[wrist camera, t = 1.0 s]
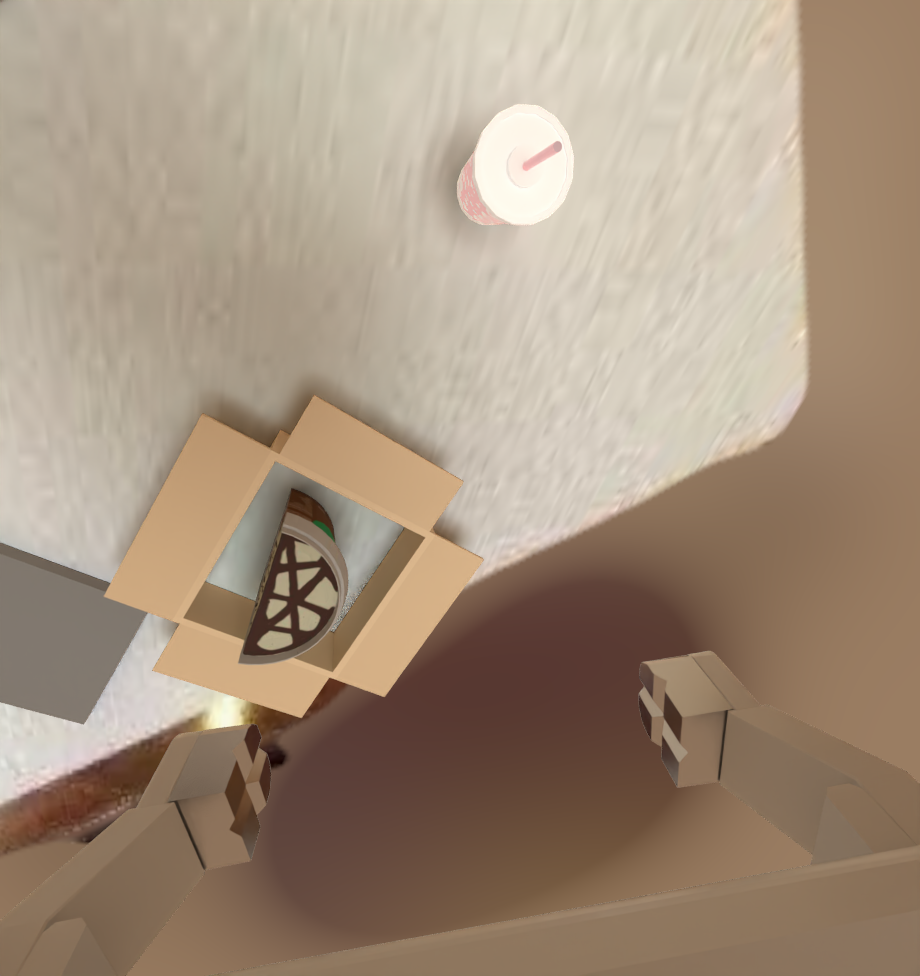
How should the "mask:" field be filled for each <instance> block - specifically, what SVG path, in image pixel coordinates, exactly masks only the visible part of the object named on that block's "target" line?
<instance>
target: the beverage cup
mask: <svg viewBox="0 0 920 976" xmlns="http://www.w3.org/2000/svg"><path fill="white" fill-rule="evenodd" d="M573 165H574V155H573V151H572V147H571V143H570V139H569V136H568V133H567V132H566V131H565V129H564V128H563V126H562V125H561V123H560V122H559V121H558V119H557V118H556V116H554V115H553V114H551V113H549V112H548V111H546V110H544V109H543V108H541V107H539V106H538V105H523V104H516V105H514V106H512V107H510V108H508V109H506V110H503V111H501V112H499V113H498V114H497V115H496V116H495V117H494V118H493V119H492V120H491V122H490V123H489V124H488V125H487V126H486V127H485V129H484V130H483V131H482V133H481V134H480V136H479V139H478V142H477V145H476V148H475V151H474V152H473V154H472V155H471V157H470V158H469V160H468V161H467V163H466V164H465V166H464V167H463V169H462V170H461V173H460V176H459V179H458V182H457V198H458V201H459V204H460V207H461V209H462V211H463V212H464V213H465V214H466V216H467V217H468V218H469V219H470V220H472V221H474V222H476V223H478V224H480V225H496V224H505V223H507V224H509V225H533V224H535V223H537V222H539V221H541V220H543V219H546V218H548V217H550V216H551V215H552V214H553V213H554V211H555V210H556V209H557V208H558V207H559V206H560V205H561V204H562V203H563V202H564V200H565V197H566V195H567V192H568V190H569V187H570V185H571V183H572V180H573Z"/></svg>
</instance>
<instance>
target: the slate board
mask: <svg viewBox="0 0 920 976" xmlns="http://www.w3.org/2000/svg"><path fill="white" fill-rule="evenodd" d="M109 585H110V583H108V582H105V581H102V580H99V579H97V578H94V577H91V576H89V575H86V574H83V573H80V572H78V571H75V570H72V569H70V568H67V567H64V566H61V565H59V564H56V563H53V562H51V561H48V560H45V559H42V558H40V557H37V556H34V555H32V554H29V553H26V552H23V551H21V550H18V549H15V548H13V547H10V546H7V545H4V544H2V543H0V702H1V703H5V704H9V705H13V706H17V707H20V708H24V709H28V710H32V711H35V712H39V713H43V714H47V715H50V716H54V717H58V718H62V719H65V720H69V721H73V722H77V723H80V724H84V723H85V722H86V720H87V718H88V717H89V715H90V713H91V711H92V710H93V708H94V706H95V704H96V703H97V701H98V699H99V697H100V695H101V694H102V692H103V690H104V688H105V687H106V685H107V683H108V681H109V680H110V678H111V676H112V674H113V673H114V671H115V669H116V667H117V665H118V664H119V662H120V660H121V658H122V657H123V655H124V653H125V651H126V650H127V648H128V646H129V644H130V643H131V641H132V639H133V637H134V635H135V634H136V632H137V630H138V628H139V627H140V625H141V623H142V621H143V620H144V618H145V616H146V614H147V613H148V612H145V611H142V610H140V609H137V608H134V607H131V606H128V605H126V604H123V603H120V602H117V601H114V600H112V599H109V598H106V597H104V595H105V593H106V591H107V589H108V587H109Z"/></svg>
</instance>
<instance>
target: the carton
mask: <svg viewBox="0 0 920 976" xmlns="http://www.w3.org/2000/svg"><path fill="white" fill-rule="evenodd" d="M275 461H276V462H278V463H280V464H282V465H284V466H286V467H288V468H290V469H292V470H294V471H296V472H298V473H300V474H302V475H304V476H306V477H308V478H310V479H311V480H313V481H315V482H317V483H319V484H321V485H323V486H325V487H327V488H329V489H331V490H333V491H335V492H337V493H339V494H341V495H343V496H345V497H347V498H349V499H351V500H353V501H355V502H357V503H359V504H360V505H362V506H364V507H366V508H368V509H370V510H372V511H374V512H376V513H378V514H380V515H382V516H384V517H386V518H388V519H390V520H392V521H394V522H396V523H398V524H400V525H402V526H404V527H405V528H404V530H403V531H402V533H401V534H400V536H399V537H398V539H397V540H396V542H395V543H394V545H393V546H392V548H391V549H390V550H389V552H388V553H387V555H386V556H385V558H384V559H383V561H382V562H381V564H380V565H379V567H378V568H377V570H376V571H375V573H374V574H373V576H372V577H371V579H370V580H369V582H368V583H367V585H366V586H365V588H364V589H363V591H362V592H361V594H360V595H359V596H358V598H357V599H356V601H355V602H354V604H353V605H352V607H351V608H350V610H349V611H348V613H347V614H346V616H345V617H344V619H343V620H342V622H341V623H340V625H339V626H338V628H337V629H336V631H335V632H334V633H333V632H331V631H329V632H328V633H327V634H326V635H325V636H324V637H323V638H322V639H321V640H320V641H319V642H318V643H317V644H316V645H315V646H313V647H312V648H311V649H309V650H308V651H306V652H304V653H302V654H301V655H299V656H296V657H294V658H291V659H289V660H286V661H282V662H278V663H274V664H266V665H243V664H238V661H239V657H240V653H241V650H242V647H243V644H244V640H245V637H246V633H247V630H248V626H249V623H250V619H251V616H252V612H253V609H254V605H255V601H252V600H250V599H247V598H245V597H242V596H240V595H237V594H235V593H232V592H230V591H227V590H225V589H222V588H219V587H217V586H214V585H212V584H209V583H207V582H205V580H206V578H207V577H208V575H209V573H210V571H211V570H212V568H213V566H214V565H215V563H216V561H217V560H218V558H219V556H220V554H221V553H222V551H223V549H224V548H225V546H226V544H227V543H228V541H229V539H230V537H231V536H232V534H233V532H234V531H235V529H236V527H237V526H238V524H239V522H240V520H241V519H242V517H243V515H244V514H245V512H246V510H247V509H248V507H249V505H250V503H251V502H252V500H253V498H254V497H255V495H256V493H257V491H258V490H259V488H260V486H261V485H262V483H263V481H264V480H265V478H266V476H267V474H268V473H269V471H270V469H271V468H272V466H273V464H274V463H275ZM462 484H463V480H461V479H459V478H457V477H456V476H454V475H452V474H450V473H449V472H447V471H445V470H444V469H442V468H440V467H438V466H437V465H435V464H433V463H431V462H430V461H428V460H426V459H425V458H423V457H421V456H419V455H418V454H416V453H414V452H412V451H411V450H409V449H407V448H406V447H404V446H402V445H400V444H399V443H397V442H395V441H393V440H392V439H390V438H388V437H386V436H385V435H383V434H381V433H380V432H378V431H376V430H374V429H373V428H371V427H369V426H367V425H366V424H364V423H362V422H361V421H359V420H357V419H355V418H354V417H352V416H350V415H348V414H347V413H345V412H343V411H342V410H340V409H338V408H336V407H335V406H333V405H331V404H329V403H328V402H326V401H324V400H323V399H321V398H319V397H317V396H316V395H314V396H313V397H312V399H311V401H310V403H309V404H308V406H307V408H306V409H305V411H304V413H303V414H302V416H301V418H300V420H299V421H298V423H297V425H296V426H295V428H294V430H293V431H292V433H291V435H290V434H288V433H286V432H284V431H282V430H280V431H279V433H278V434H277V436H276V438H275V440H274V441H273V443H272V445H271V447H270V448H269V447H267V446H265V445H264V444H262V443H260V442H258V441H256V440H254V439H252V438H250V437H248V436H246V435H244V434H242V433H240V432H238V431H236V430H235V429H233V428H231V427H229V426H227V425H225V424H223V423H221V422H219V421H217V420H215V419H213V418H211V417H209V416H208V415H206V414H204V413H202V415H201V416H200V418H199V420H198V422H197V424H196V426H195V428H194V429H193V431H192V433H191V435H190V437H189V439H188V441H187V442H186V444H185V446H184V448H183V450H182V452H181V454H180V455H179V457H178V459H177V461H176V463H175V465H174V467H173V468H172V470H171V472H170V474H169V476H168V478H167V480H166V481H165V483H164V485H163V487H162V489H161V491H160V493H159V494H158V496H157V498H156V500H155V502H154V504H153V506H152V507H151V509H150V511H149V513H148V515H147V517H146V519H145V520H144V522H143V524H142V526H141V528H140V530H139V532H138V533H137V535H136V537H135V539H134V541H133V543H132V545H131V546H130V548H129V550H128V552H127V554H126V556H125V558H124V559H123V561H122V563H121V565H120V567H119V569H118V571H117V572H116V574H115V576H114V578H113V580H112V582H111V584H110V585H109V587H108V589H107V591H106V593H105V595H104V597H106V598H109V599H112V600H114V601H117V602H120V603H123V604H126V605H128V606H131V607H134V608H137V609H140V610H142V611H145V612H148V613H151V614H154V615H156V616H159V617H162V618H165V619H168V620H170V621H173V622H176V623H179V625H178V627H177V629H176V631H175V632H174V634H173V636H172V637H171V639H170V641H169V643H168V644H167V646H166V648H165V649H164V651H163V653H162V654H161V656H160V658H159V660H158V661H157V663H156V665H155V666H154V668H153V670H152V671H155V672H158V673H162V674H165V675H168V676H171V677H174V678H177V679H180V680H184V681H187V682H190V683H193V684H196V685H199V686H203V687H206V688H209V689H212V690H215V691H218V692H221V693H225V694H228V695H231V696H234V697H237V698H240V699H243V700H247V701H250V702H253V703H256V704H259V705H262V706H266V707H269V708H272V709H275V710H278V711H281V712H284V713H288V714H291V715H294V716H297V717H300V718H302V716H303V715H304V713H305V712H306V711H307V709H308V708H309V706H310V705H311V703H312V702H313V700H314V699H315V697H316V696H317V695H318V693H319V692H320V690H321V689H322V687H323V686H324V684H325V683H326V681H327V680H328V679H329V677H330V678H333V679H336V680H338V681H341V682H344V683H347V684H350V685H352V686H355V687H358V688H361V689H364V690H366V691H370V692H372V693H375V694H378V695H380V696H383V697H384V696H385V695H386V694H387V693H388V691H389V690H390V688H391V687H392V686H393V684H394V683H395V681H396V680H397V679H398V677H399V676H400V675H401V673H402V672H403V671H404V669H405V668H406V666H407V665H408V664H409V662H410V661H411V660H412V658H413V657H414V655H415V654H416V653H417V651H418V650H419V648H420V647H421V646H422V644H423V643H424V641H425V640H426V638H427V637H428V636H429V635H430V633H431V632H432V631H433V629H434V628H435V626H436V625H437V624H438V622H439V621H440V619H441V618H442V617H443V615H444V614H445V613H446V611H447V610H448V609H449V607H450V606H451V604H452V603H453V602H454V600H455V599H456V598H457V596H458V595H459V593H460V592H461V591H462V589H463V588H464V587H465V585H466V584H467V582H468V581H469V580H470V578H471V577H472V576H473V574H474V573H475V571H476V570H477V569H478V567H479V566H480V565H481V563H482V562H483V560H484V559H483V558H482V557H480V556H478V555H476V554H474V553H472V552H470V551H468V550H466V549H464V548H462V547H460V546H458V545H457V544H455V543H453V542H451V541H449V540H447V539H445V538H443V537H441V536H439V535H437V534H435V532H434V529H433V526H434V525H435V523H436V522H437V520H438V519H439V517H440V516H441V514H442V513H443V511H444V510H445V509H446V507H447V506H448V504H449V503H450V501H451V500H452V498H453V497H454V495H455V494H456V493H457V491H458V490H459V488H460V487H461V485H462Z"/></svg>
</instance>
